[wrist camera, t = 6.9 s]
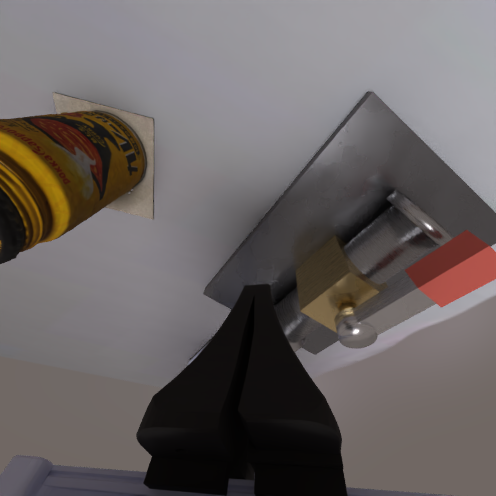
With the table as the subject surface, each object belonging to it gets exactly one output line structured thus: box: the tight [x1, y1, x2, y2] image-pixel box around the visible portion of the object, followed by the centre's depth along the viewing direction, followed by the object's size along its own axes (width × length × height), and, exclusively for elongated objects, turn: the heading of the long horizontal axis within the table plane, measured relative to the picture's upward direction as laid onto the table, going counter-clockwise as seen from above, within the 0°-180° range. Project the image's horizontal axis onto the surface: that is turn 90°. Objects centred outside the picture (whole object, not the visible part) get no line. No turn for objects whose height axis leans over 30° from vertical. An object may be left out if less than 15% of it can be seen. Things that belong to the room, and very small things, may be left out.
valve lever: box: [334, 230, 496, 348], centre depth 15 cm, size 10×2×2 cm, turn 143°
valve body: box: [203, 92, 496, 354], centre depth 20 cm, size 22×16×7 cm
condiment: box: [0, 93, 154, 264], centre depth 15 cm, size 7×8×12 cm
